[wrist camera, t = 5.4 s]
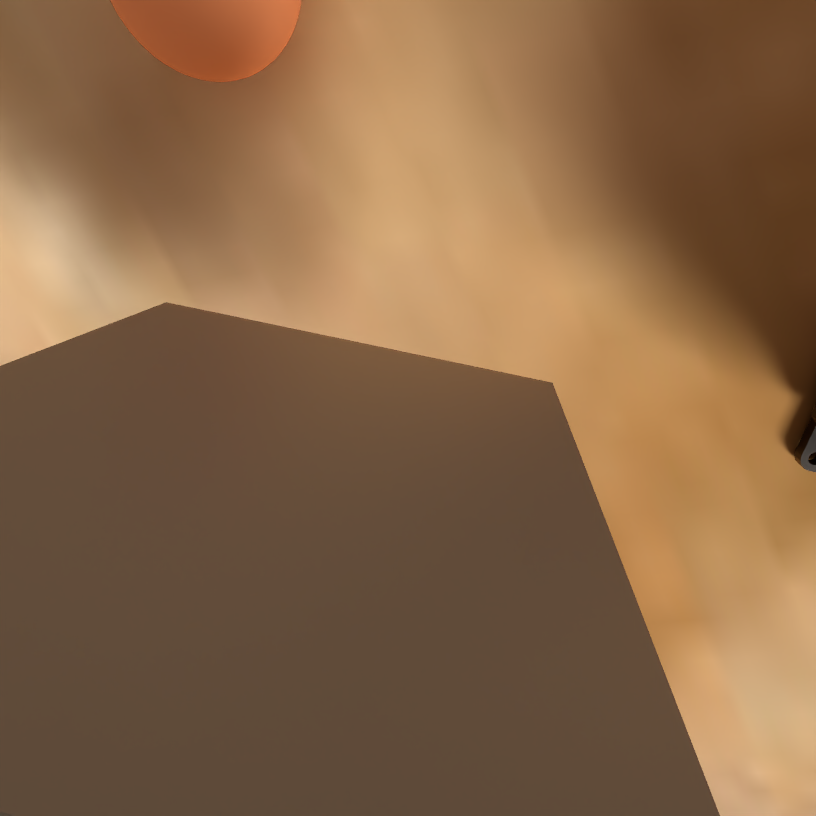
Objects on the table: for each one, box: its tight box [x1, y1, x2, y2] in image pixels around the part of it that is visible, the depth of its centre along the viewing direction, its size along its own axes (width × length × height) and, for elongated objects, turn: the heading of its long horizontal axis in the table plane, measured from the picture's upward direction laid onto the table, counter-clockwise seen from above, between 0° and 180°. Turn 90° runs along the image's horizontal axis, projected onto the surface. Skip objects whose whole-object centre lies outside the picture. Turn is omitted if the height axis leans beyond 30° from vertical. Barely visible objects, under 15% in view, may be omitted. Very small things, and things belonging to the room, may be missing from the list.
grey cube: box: [0, 302, 720, 816], centre depth 8 cm, size 8×8×9 cm
